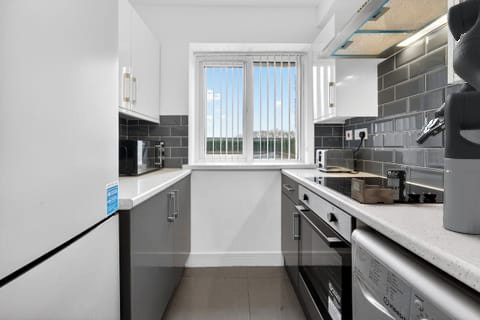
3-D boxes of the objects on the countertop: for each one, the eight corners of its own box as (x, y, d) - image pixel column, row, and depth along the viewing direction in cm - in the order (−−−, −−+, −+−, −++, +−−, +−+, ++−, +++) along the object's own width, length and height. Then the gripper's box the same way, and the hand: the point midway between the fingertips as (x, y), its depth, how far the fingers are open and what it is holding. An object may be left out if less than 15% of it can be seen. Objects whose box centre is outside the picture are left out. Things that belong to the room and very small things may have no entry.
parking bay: (378, 197, 122) (378, 178, 122) (392, 203, 110) (393, 181, 110) (350, 197, 123) (351, 177, 122) (361, 203, 111) (362, 181, 110)
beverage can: (401, 199, 119) (401, 168, 119) (408, 202, 113) (409, 169, 112) (383, 199, 120) (384, 168, 120) (390, 201, 113) (390, 169, 113)
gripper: (434, 105, 121) (402, 136, 122) (457, 100, 108) (421, 135, 109) (447, 119, 121) (415, 150, 122) (471, 115, 108) (435, 150, 109)
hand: (418, 142), depth 115 cm, fingers closed
